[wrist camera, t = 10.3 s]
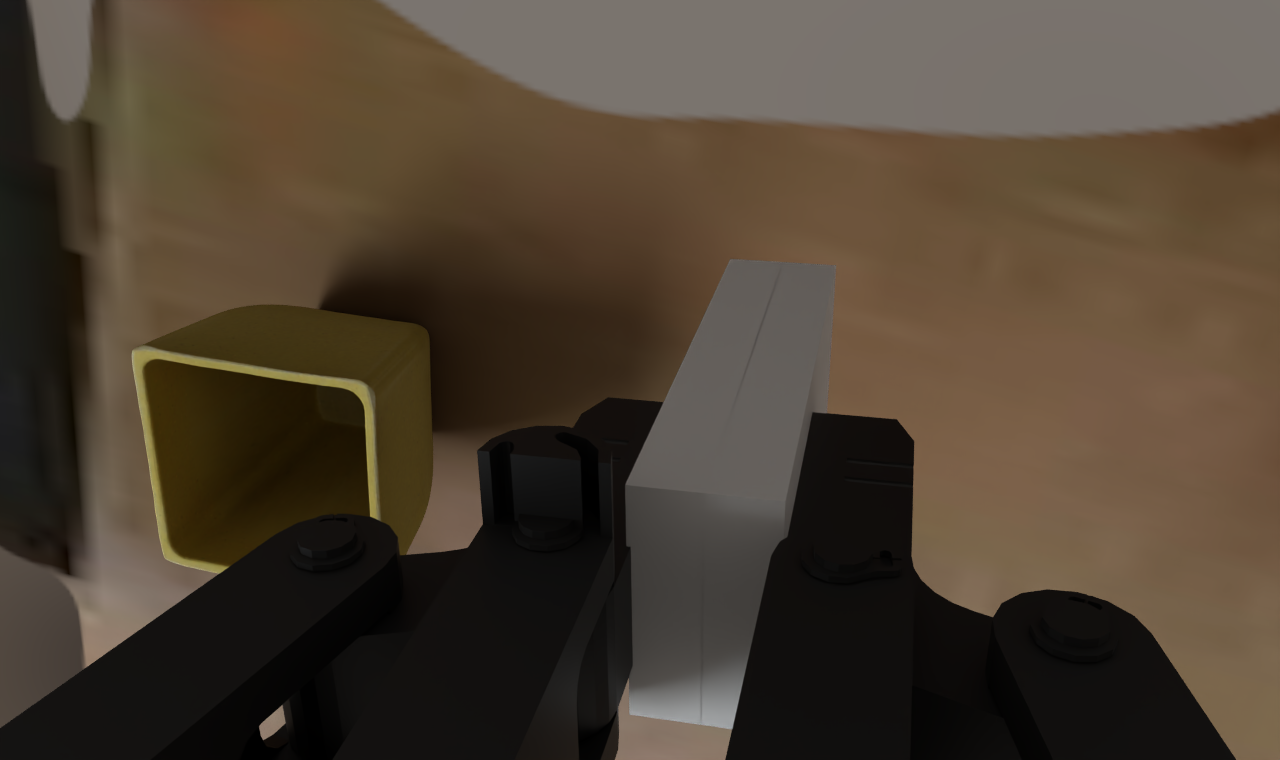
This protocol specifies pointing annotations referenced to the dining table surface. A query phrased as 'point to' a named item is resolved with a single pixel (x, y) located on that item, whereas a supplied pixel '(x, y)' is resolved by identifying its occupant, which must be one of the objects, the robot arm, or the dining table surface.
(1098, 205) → the dining table surface
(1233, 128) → the dining table surface
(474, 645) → the robot arm
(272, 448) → the flower pot
